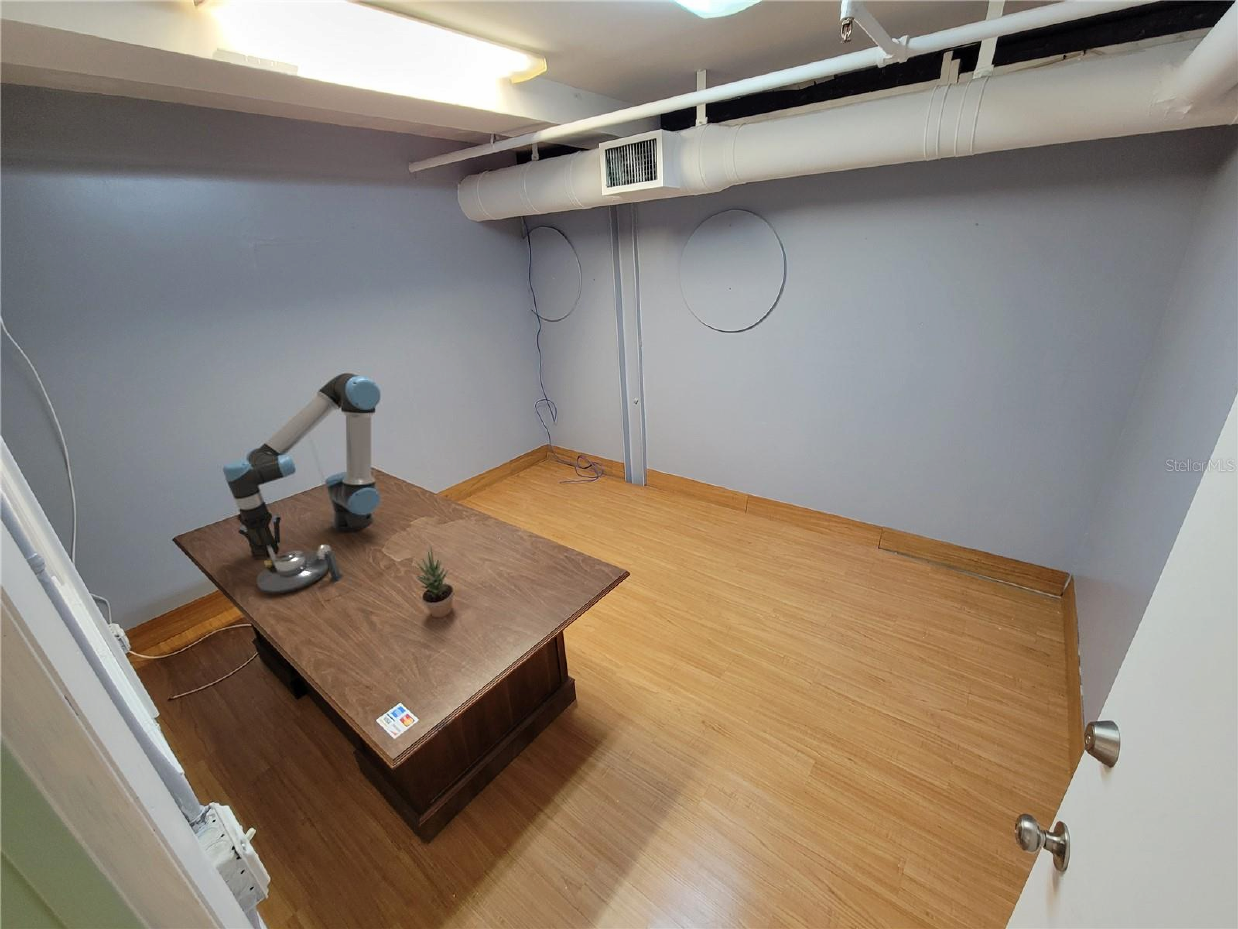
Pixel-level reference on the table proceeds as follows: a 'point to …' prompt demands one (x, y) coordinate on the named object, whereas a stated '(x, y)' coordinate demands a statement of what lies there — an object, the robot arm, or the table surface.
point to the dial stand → (329, 561)
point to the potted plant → (436, 588)
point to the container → (257, 541)
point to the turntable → (276, 584)
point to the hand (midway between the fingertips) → (275, 562)
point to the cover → (290, 564)
